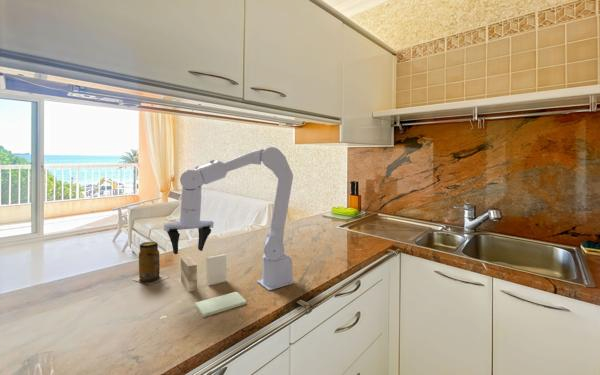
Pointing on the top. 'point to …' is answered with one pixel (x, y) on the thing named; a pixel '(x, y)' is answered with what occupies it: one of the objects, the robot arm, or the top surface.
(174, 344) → the top surface
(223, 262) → the tile
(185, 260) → the tan wooden block
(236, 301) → the rest board
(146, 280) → the condiment
